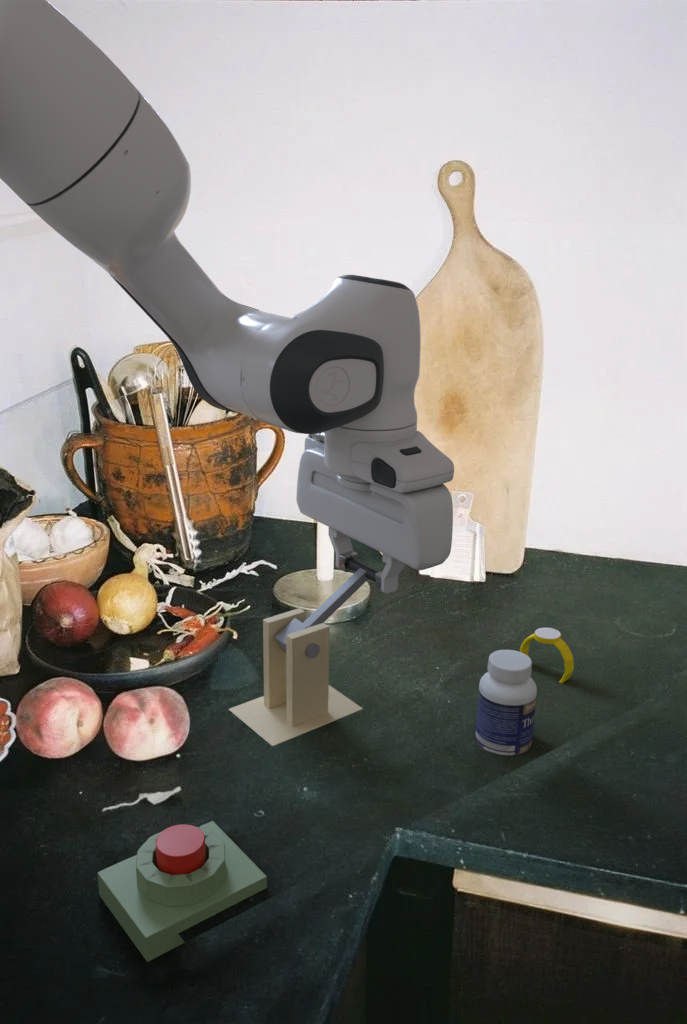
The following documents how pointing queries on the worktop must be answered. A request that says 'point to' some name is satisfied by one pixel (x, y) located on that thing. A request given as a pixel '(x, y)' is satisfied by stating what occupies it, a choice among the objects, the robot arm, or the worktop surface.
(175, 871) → the button
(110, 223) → the robot arm
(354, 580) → the lever
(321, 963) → the worktop surface
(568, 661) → the watch
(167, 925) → the block
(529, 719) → the pill bottle
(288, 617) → the tan bracket
